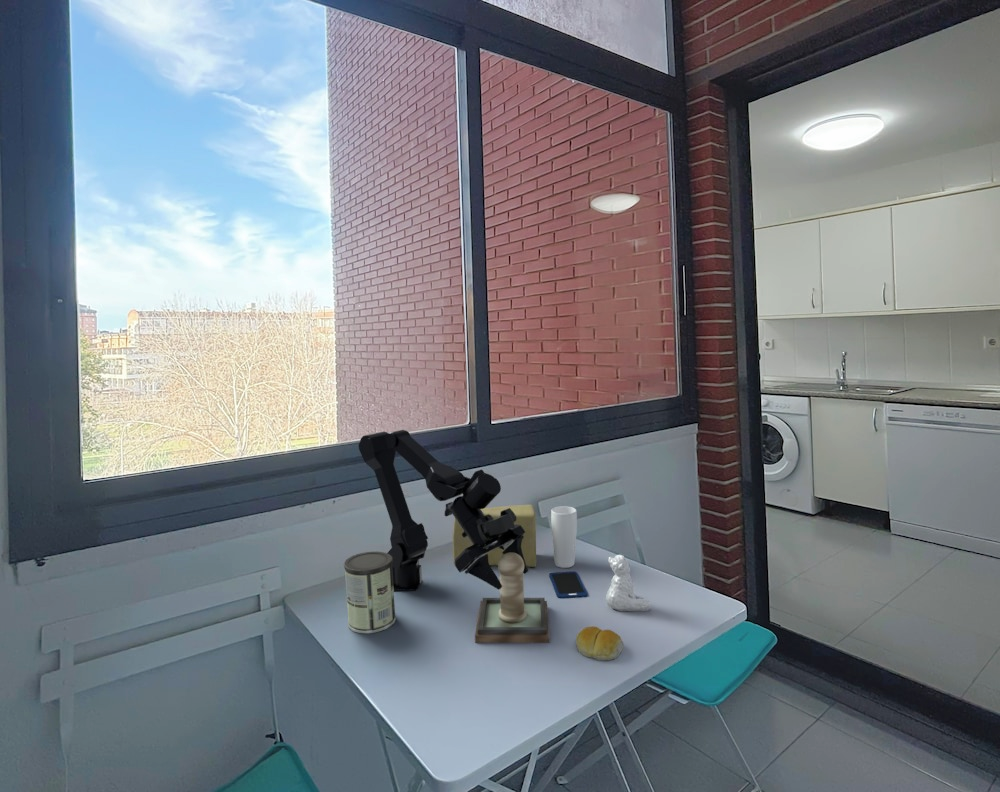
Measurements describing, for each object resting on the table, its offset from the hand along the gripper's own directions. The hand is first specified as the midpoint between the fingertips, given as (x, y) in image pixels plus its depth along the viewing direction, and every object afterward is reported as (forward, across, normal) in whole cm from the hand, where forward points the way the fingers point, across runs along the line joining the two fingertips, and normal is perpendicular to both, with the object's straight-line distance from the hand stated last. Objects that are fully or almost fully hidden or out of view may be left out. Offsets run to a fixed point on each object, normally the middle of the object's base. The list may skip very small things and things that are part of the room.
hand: (513, 580), depth 126 cm
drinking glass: (+2, +33, +13) cm, 35 cm away
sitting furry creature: (+18, +21, -4) cm, 28 cm away
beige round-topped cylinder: (+6, 0, +6) cm, 8 cm away
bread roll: (+21, +2, -6) cm, 22 cm away
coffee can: (-11, -17, +26) cm, 33 cm away
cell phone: (+7, +23, +8) cm, 25 cm away
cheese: (-10, +24, +24) cm, 35 cm away
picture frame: (+7, 0, +7) cm, 10 cm away
